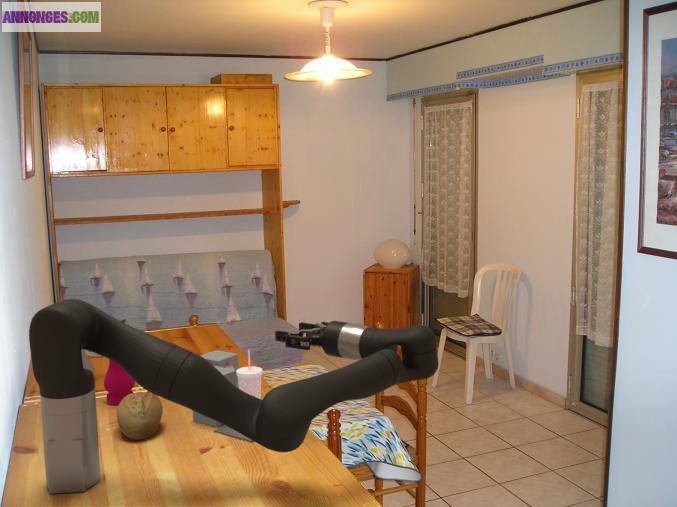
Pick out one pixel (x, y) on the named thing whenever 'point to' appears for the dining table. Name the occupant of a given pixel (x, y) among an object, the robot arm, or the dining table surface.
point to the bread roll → (139, 415)
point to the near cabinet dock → (225, 430)
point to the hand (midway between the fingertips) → (288, 331)
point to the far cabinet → (223, 360)
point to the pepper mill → (117, 383)
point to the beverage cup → (250, 379)
